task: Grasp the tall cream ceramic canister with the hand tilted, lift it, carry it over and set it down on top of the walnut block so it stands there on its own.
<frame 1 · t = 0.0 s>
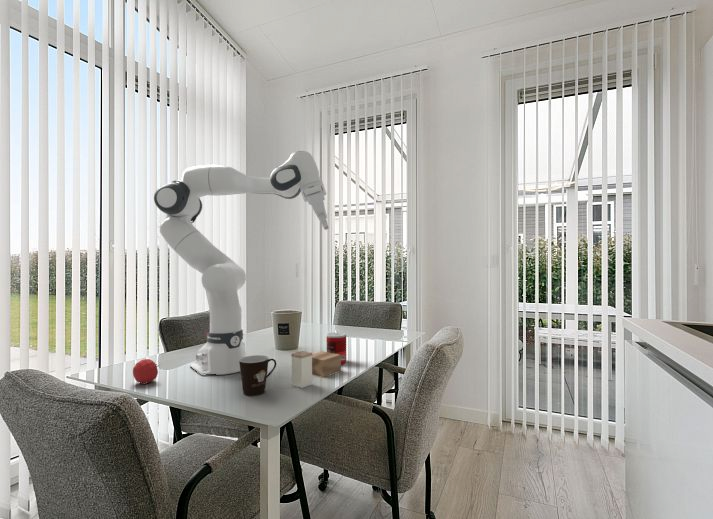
hand: (326, 228, 134), 52 cm above the table, tool tilted 20°, fingers open, 8 cm apart
block: (323, 372, 128), on the table
coffee mug: (259, 392, 108), on the table
canister: (302, 384, 114), on the table
tomato: (146, 383, 118), on the table
canned food: (336, 363, 140), on the table
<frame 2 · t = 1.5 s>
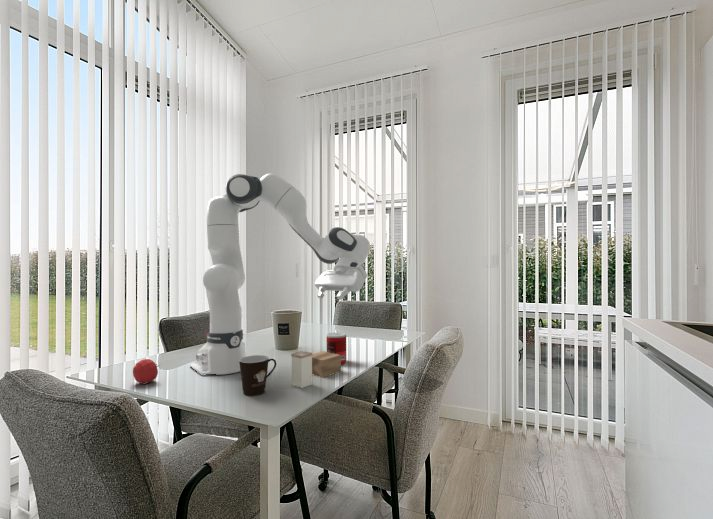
hand: (329, 297, 128), 26 cm above the table, tool tilted 45°, fingers open, 8 cm apart
nothing on the table moved.
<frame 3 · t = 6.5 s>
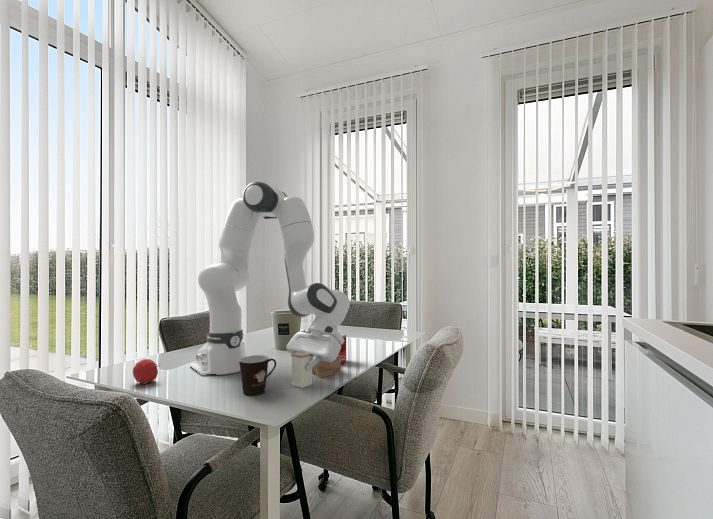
hand: (300, 368, 114), 5 cm above the table, tool tilted 45°, fingers closed on canister, 4 cm apart
canister: (302, 384, 114), on the table, touching gripper
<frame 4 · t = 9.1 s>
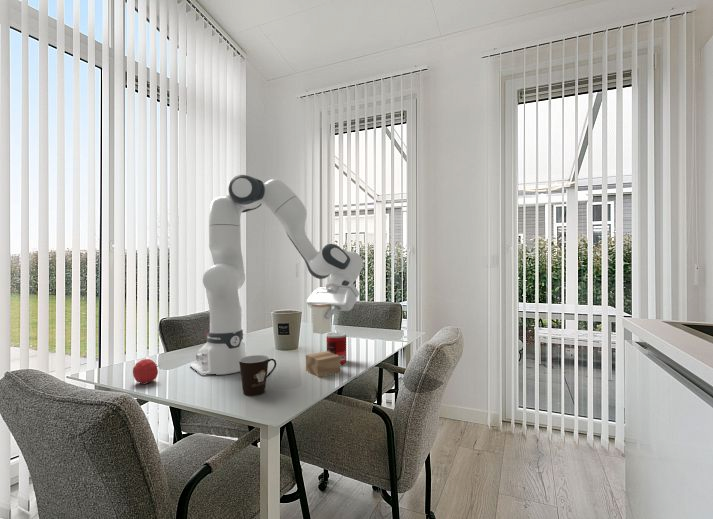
hand: (320, 317, 126), 20 cm above the table, tool tilted 45°, fingers closed on canister, 4 cm apart
canister: (322, 332, 127), point 14 cm above the table, touching gripper
everything else where it was.
when the fingers open (12 cm above the table, at t = 11.8 s): canister stays where it is, resting on block.
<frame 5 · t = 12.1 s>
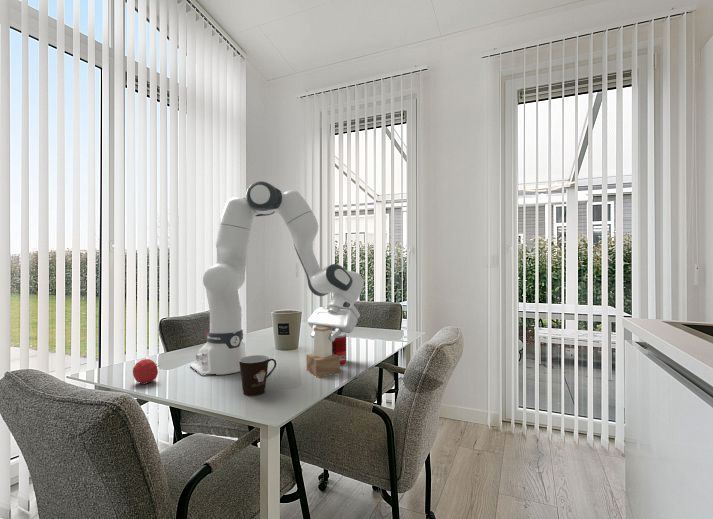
hand: (321, 338, 127), 12 cm above the table, tool tilted 45°, fingers open, 7 cm apart
block: (323, 372, 128), on the table, touching canister
canister: (323, 355, 128), point 6 cm above the table, touching block
everything else where it was.
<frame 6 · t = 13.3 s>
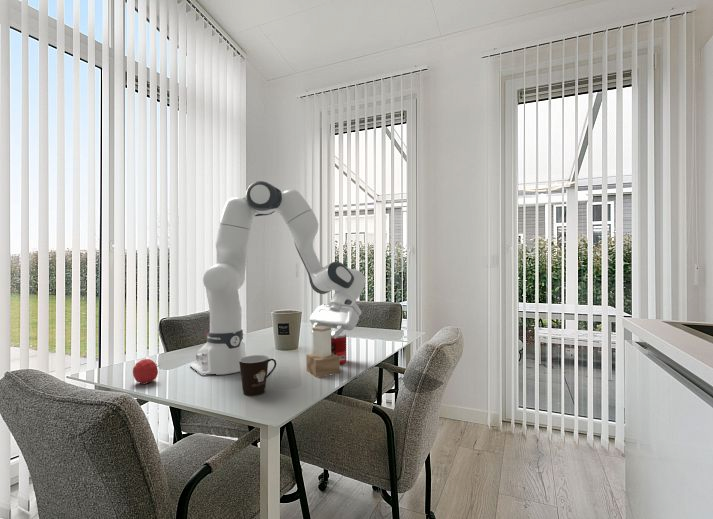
hand: (323, 335, 128), 13 cm above the table, tool tilted 45°, fingers open, 8 cm apart
block: (322, 372, 128), on the table
canister: (322, 355, 128), point 6 cm above the table
everything else where it was.
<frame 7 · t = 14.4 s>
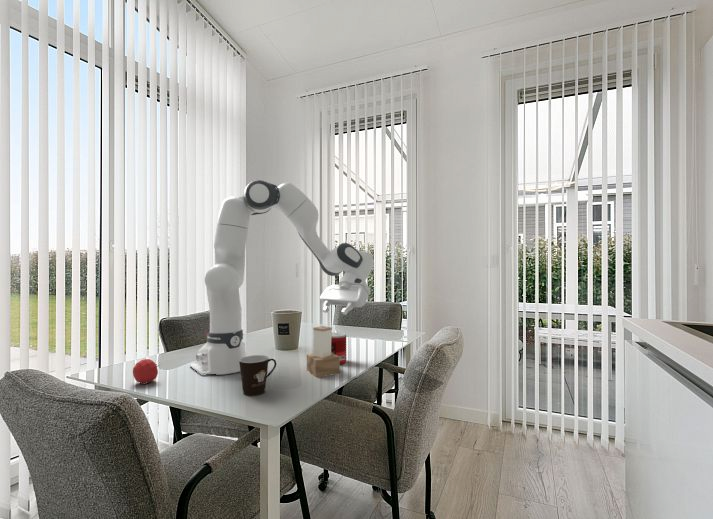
hand: (333, 312, 133), 20 cm above the table, tool tilted 45°, fingers open, 8 cm apart
block: (323, 372, 128), on the table, touching canister
canister: (322, 355, 127), point 6 cm above the table, touching block
everything else where it was.
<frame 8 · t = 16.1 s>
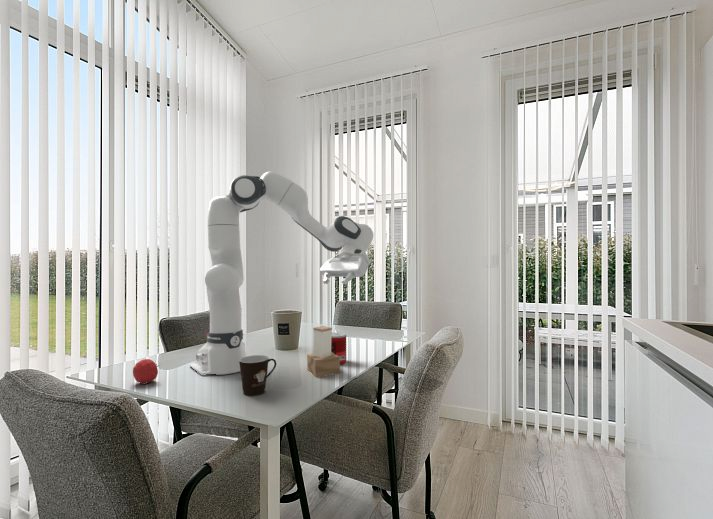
hand: (334, 283, 133), 31 cm above the table, tool tilted 45°, fingers open, 8 cm apart
nothing on the table moved.
at the end: canister inside the target area on the block (0.5 cm from its centre), point 6.1 cm above the block's base; canister tilted 1°; the gripper is holding nothing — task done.
